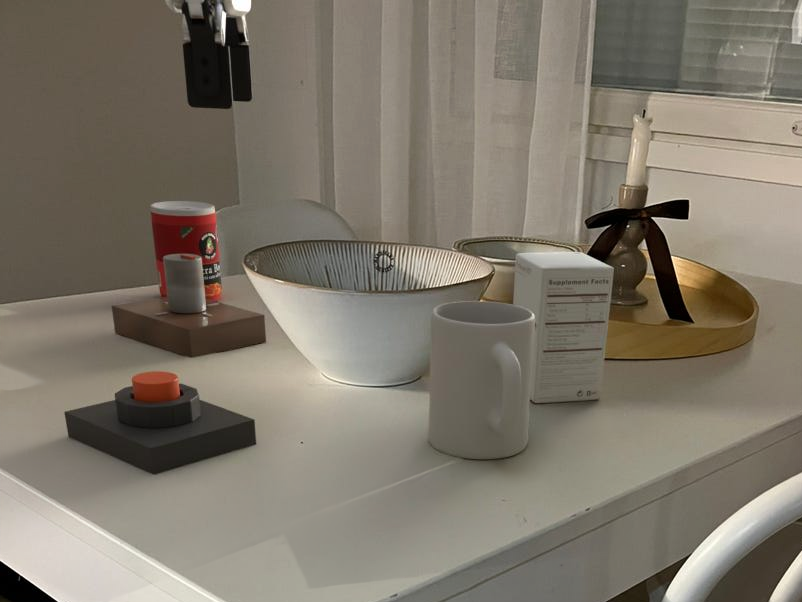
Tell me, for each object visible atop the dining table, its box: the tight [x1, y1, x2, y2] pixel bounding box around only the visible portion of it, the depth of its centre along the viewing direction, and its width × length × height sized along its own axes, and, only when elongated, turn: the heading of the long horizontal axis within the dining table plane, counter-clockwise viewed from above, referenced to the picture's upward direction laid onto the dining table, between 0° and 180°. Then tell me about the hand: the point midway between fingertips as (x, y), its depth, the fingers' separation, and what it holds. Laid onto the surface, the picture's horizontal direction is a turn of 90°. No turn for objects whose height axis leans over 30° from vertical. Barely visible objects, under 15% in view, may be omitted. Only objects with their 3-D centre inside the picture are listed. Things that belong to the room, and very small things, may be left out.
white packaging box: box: [512, 251, 615, 404], centre depth 99 cm, size 7×7×13 cm
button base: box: [63, 383, 257, 475], centre depth 84 cm, size 12×10×4 cm
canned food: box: [150, 200, 223, 302], centre depth 128 cm, size 8×8×11 cm
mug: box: [427, 300, 535, 460], centre depth 84 cm, size 12×8×11 cm
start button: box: [131, 370, 180, 402], centre depth 83 cm, size 4×4×2 cm
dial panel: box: [111, 296, 267, 359], centre depth 113 cm, size 14×10×3 cm
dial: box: [163, 254, 206, 314], centre depth 111 cm, size 4×4×6 cm
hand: (222, 104), depth 79 cm, fingers open, 9 cm apart
